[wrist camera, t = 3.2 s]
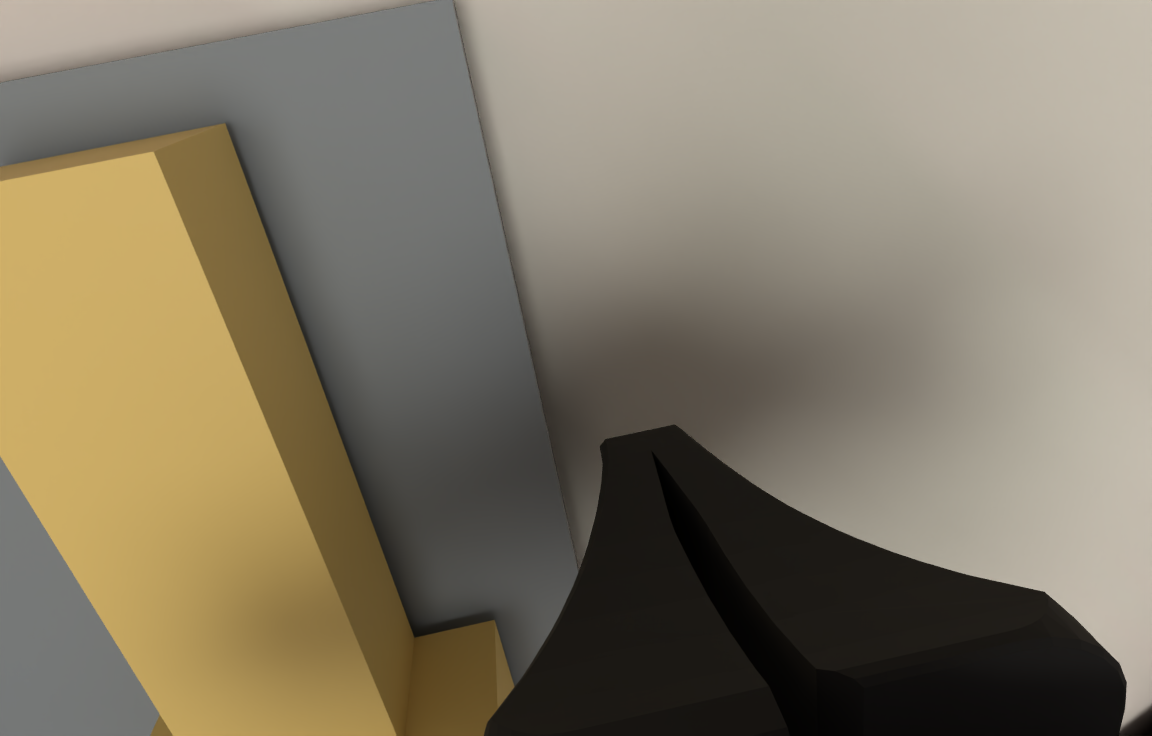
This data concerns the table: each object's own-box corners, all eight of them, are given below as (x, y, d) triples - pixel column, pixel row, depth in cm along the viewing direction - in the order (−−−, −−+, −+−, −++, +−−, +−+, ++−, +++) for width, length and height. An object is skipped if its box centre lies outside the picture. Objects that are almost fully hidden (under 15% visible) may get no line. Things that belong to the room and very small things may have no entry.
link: (553, 819, 17) (568, 966, 15) (283, 882, 17) (247, 1045, 14) (340, 101, 10) (291, 128, 7) (-130, 192, 10) (-359, 254, 7)
